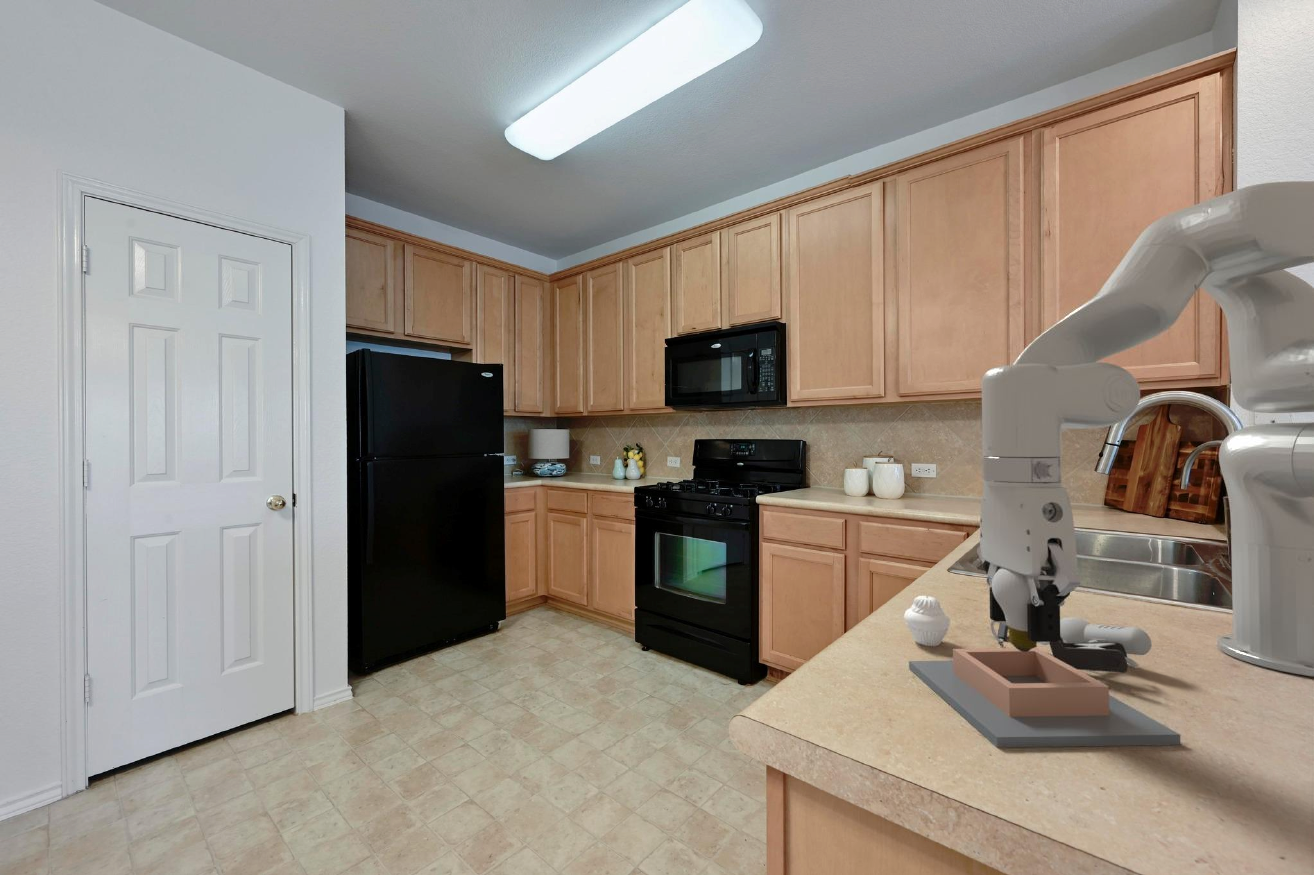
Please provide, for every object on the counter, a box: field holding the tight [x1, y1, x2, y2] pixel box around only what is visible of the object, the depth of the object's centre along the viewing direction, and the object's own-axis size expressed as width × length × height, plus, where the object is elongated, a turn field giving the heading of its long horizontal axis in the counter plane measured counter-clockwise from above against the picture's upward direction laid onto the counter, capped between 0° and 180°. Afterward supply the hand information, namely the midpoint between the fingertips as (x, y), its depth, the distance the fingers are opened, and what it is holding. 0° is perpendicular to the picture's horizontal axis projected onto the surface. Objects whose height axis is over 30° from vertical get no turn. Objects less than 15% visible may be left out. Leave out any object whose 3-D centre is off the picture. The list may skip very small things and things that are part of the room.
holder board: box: [908, 647, 1181, 748], centre depth 61 cm, size 18×18×4 cm
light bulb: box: [991, 568, 1048, 652], centre depth 61 cm, size 6×6×10 cm
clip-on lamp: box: [989, 616, 1152, 673], centre depth 73 cm, size 12×6×18 cm
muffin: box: [903, 594, 951, 647], centre depth 79 cm, size 6×6×7 cm
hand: (1023, 628), depth 61 cm, fingers closed on light bulb, 5 cm apart
